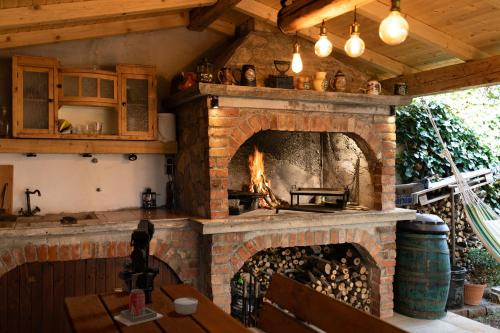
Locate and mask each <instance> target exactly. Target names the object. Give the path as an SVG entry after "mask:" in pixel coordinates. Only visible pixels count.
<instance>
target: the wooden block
mask: <svg viewBox="0 0 500 333" xmlns="http://www.w3.org/2000/svg"><path fill="white" fill-rule="evenodd" d="M131 261H132V260H131V258H130V257H125V258H123V263H124V262H129V263H131ZM126 270H127V269H124V268H123V271H126ZM129 272H131V271H129ZM137 276H138V275H135V276H132V278H131V279H133V280H132V290H134V289H136V280H137ZM122 281H123V284H121V292H125V293H126V292H127V293H129V291H128V288H127V285H126V283H125V281H124V280H122Z"/></svg>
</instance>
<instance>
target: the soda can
mask: <svg viewBox="0 0 500 333" xmlns="http://www.w3.org/2000/svg"><path fill="white" fill-rule="evenodd" d="M143 291H144V290H142V289H134V290H132V291H131V293H129V297H128V310H129V315H131V316H133V317H137V316H141V315H144V312H145V307H146V304H145V293H144V292H143Z"/></svg>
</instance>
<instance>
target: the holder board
mask: <svg viewBox="0 0 500 333" xmlns="http://www.w3.org/2000/svg"><path fill="white" fill-rule="evenodd" d="M162 318H164V315H162V314H161V313H158V312H157V311H155V310H153V309H151V308H148V307H147V306H145V312H144V315H141V316H137V317H133V316H131V315H129V309H126V310H125V309H124V310H121V311H120V315H116V316H114V317H113V319H114V320H115V321H117V322H120V323H121V324H123V325H125V326H126V327H131V326H135V325H138V324H143V323H146V322H147V323H148V322H150V321H155V320H158V319H162Z"/></svg>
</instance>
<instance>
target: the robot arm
mask: <svg viewBox="0 0 500 333" xmlns="http://www.w3.org/2000/svg"><path fill="white" fill-rule="evenodd" d="M155 232H156V231H155V224H154V223H153V222H151V219H140V220H139V221H138V224H137V227H136V229H134V230H132V232H131V234H130V235H131V236H130V242H129V245H130V246H129V247H130V248H133V249H132V251H131V252H130V253H129V254H130V255H129V258H130V259H131V260H130V263H129V262H124V261H123V263H122V264H123V266H122V267H123V270H121V271H119V272H118V274H117V275H118V276H117V278H118V279H120V280H122V281H125V283H126V285H127V288H128V291H129V292H128V293H129V294H130V293H131V291H132V284H133V279H131V278H132V276H135V275H138V276H137V280H136V289H142V290H144V291H143V292H144V293H145V305H148V304H152V303H154V301H153V300H152V293H153V292H155V282H154V280H155V278H157V276H158V275H159V274H160V272H161V271H160V267H158V266H153V265H152V266H150V253H151V252H150V251H151V248H150V246H151V244H150V243H151V242H152V239H153V238H154V234H155ZM124 269H127V270H126V271H124ZM129 271H130V272H129Z"/></svg>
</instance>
